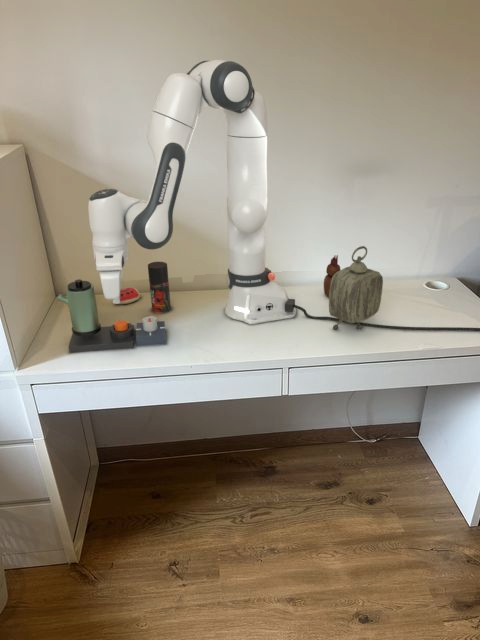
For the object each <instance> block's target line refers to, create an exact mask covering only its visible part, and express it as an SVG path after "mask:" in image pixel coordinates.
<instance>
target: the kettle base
mask: <svg viewBox="0 0 480 640" xmlns="http://www.w3.org/2000/svg"><path fill="white" fill-rule="evenodd" d="M127 323H128V329H127V330H124V331H116V330H115V325H114V324H112V325H111V326H108V325H107V326H101V330H100V331H99V332H98V333H96V334H94V335H90V336H77V335H74V334H73V333H72V334H71V337H70V340H69V344H68V350H69V351H68V352H69V353H70V354H75V353H87V352H88V353H89V352H100V351H103V352H104V351H114V350H115V351H117V350H128V349H129V350H130V349H134V342H135V324H131V322H127Z"/></svg>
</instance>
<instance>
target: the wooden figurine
mask: <svg viewBox="0 0 480 640" xmlns="http://www.w3.org/2000/svg"><path fill="white" fill-rule="evenodd" d="M338 262H339V255H338V254H337V255H335V254H334V256H333V257H332V258H331V259H330V263H328V264H327V266H326V271H325V273H326V275H325V276H324V278H323V291H324V292H323V293H324V296H326V297H327V298H329V292H330V285H331V280H332V277H333V275H334V274H335V273H337V272H338V271H340V270H341V265H340V264H338Z"/></svg>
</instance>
